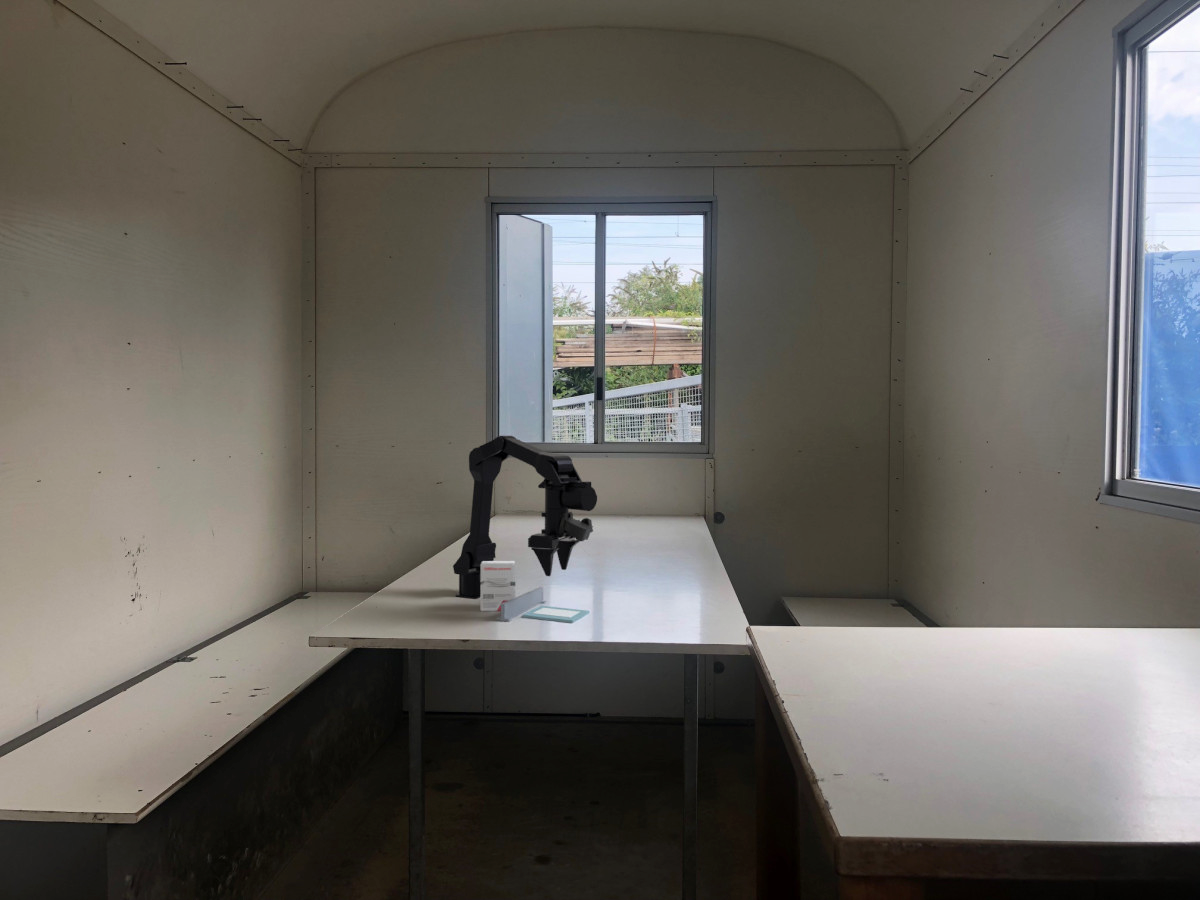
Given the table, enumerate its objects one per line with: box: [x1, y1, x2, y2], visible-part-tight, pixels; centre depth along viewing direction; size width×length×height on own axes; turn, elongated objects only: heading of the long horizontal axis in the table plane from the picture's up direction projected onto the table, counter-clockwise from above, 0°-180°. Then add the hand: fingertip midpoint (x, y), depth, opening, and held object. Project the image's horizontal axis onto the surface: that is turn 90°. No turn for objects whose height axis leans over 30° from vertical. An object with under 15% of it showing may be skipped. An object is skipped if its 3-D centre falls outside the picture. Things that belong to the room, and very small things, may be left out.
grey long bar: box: [497, 586, 547, 622], centre depth 183 cm, size 3×20×4 cm, turn 158°
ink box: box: [479, 560, 516, 612], centre depth 185 cm, size 8×5×12 cm, turn 96°
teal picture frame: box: [521, 605, 590, 624], centre depth 179 cm, size 13×10×1 cm
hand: (556, 572), depth 179 cm, fingers open, 8 cm apart
